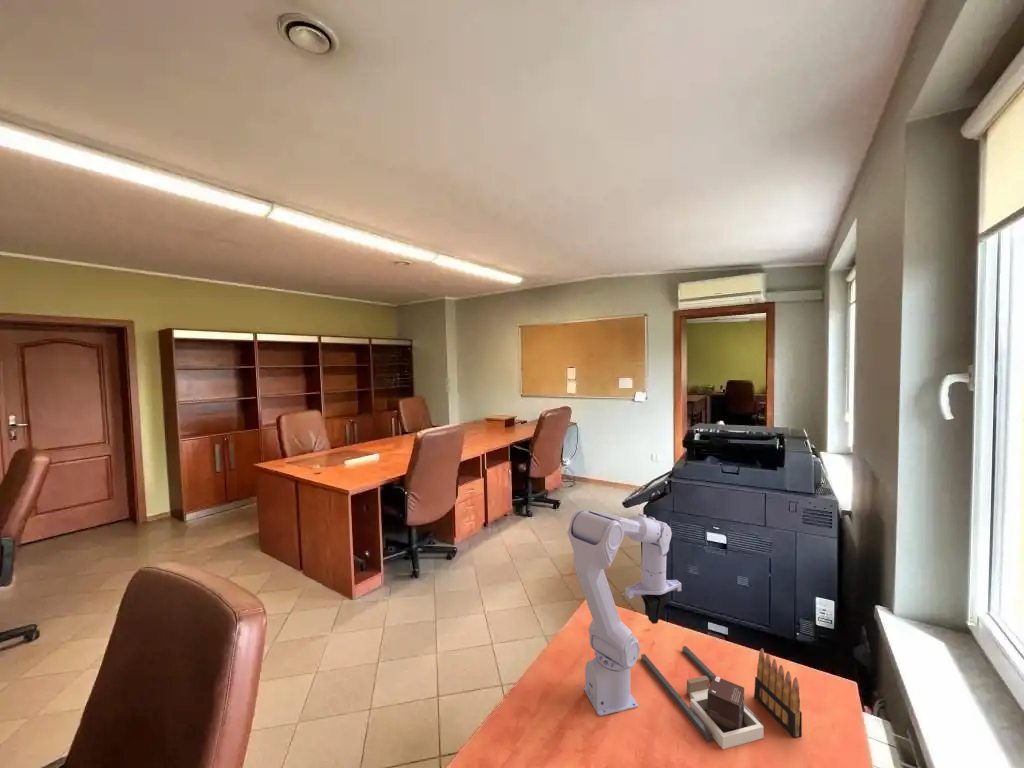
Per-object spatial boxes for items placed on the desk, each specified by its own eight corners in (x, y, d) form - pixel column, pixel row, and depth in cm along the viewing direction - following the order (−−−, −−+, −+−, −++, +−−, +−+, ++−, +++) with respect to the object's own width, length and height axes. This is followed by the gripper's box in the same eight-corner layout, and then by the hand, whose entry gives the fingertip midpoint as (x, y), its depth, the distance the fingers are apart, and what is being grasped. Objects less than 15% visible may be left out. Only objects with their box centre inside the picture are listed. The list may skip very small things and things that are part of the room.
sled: (722, 749, 82) (723, 733, 82) (677, 695, 95) (678, 681, 95) (763, 738, 84) (763, 722, 84) (713, 686, 98) (714, 673, 98)
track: (707, 743, 84) (707, 735, 83) (641, 660, 107) (641, 654, 107) (761, 728, 87) (762, 721, 87) (685, 651, 110) (685, 645, 110)
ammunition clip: (753, 697, 95) (755, 646, 94) (760, 696, 95) (762, 644, 95) (794, 739, 84) (796, 681, 84) (802, 737, 85) (804, 680, 84)
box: (738, 741, 84) (739, 706, 83) (706, 726, 87) (706, 691, 87) (744, 721, 88) (745, 687, 88) (712, 706, 92) (713, 674, 92)
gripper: (669, 557, 111) (668, 607, 111) (619, 564, 107) (618, 616, 108) (687, 570, 104) (686, 623, 105) (634, 577, 100) (633, 633, 101)
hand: (653, 621), depth 106 cm, fingers closed
